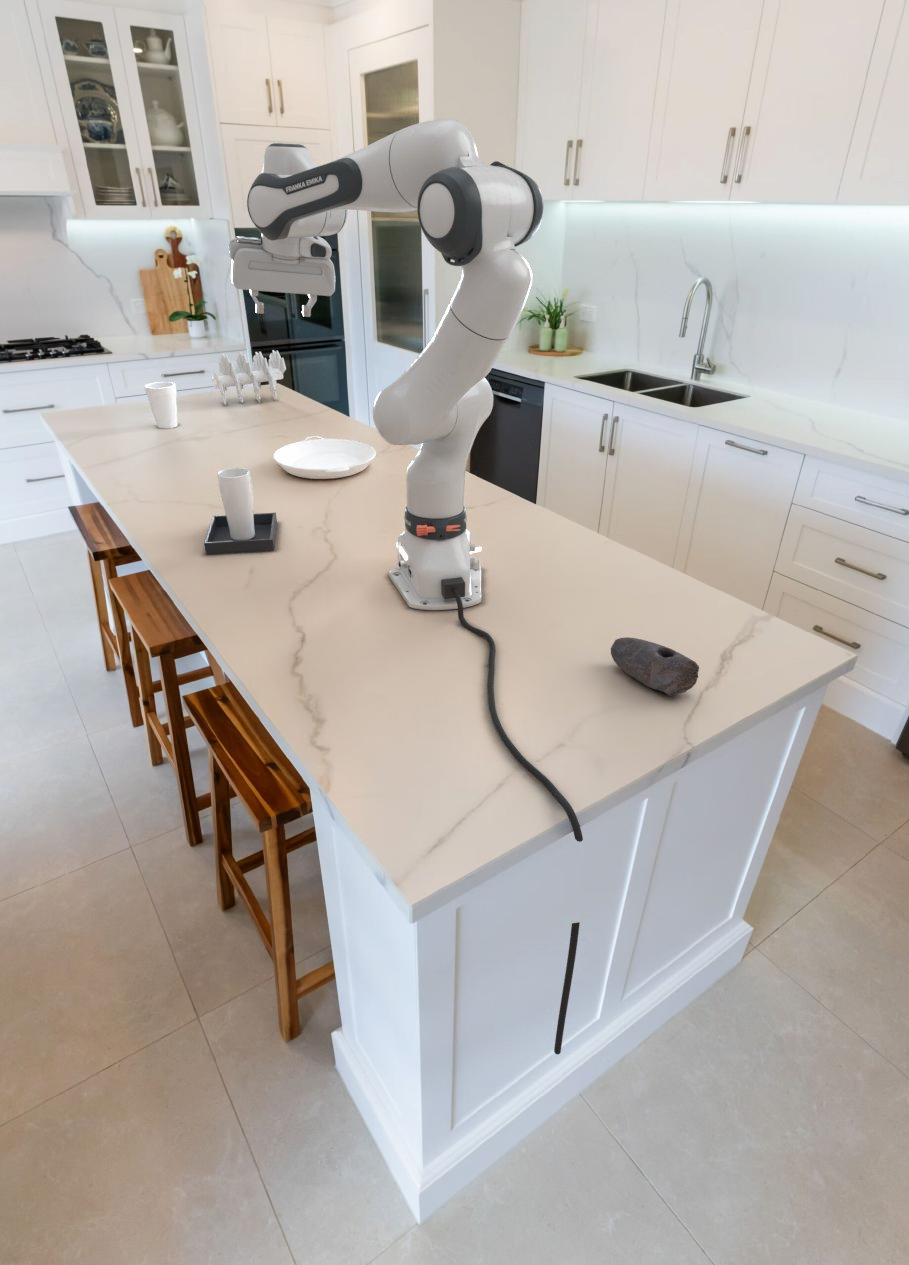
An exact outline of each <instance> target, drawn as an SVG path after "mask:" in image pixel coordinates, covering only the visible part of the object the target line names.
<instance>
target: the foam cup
mask: <svg viewBox="0 0 909 1265" xmlns="http://www.w3.org/2000/svg"><path fill="white" fill-rule="evenodd" d="M144 391H145V395H146V396H147V399H148V402H149V406H150V408H151V411H152V414H153V417H154V419H155V420H154V421H155V423H156V426H157V428H159V429H173V428H176V427H178V405H177V404H178V402H177V385H176V383H175V382H171V381H157V382H150V383H146V384H145V385H144Z"/></svg>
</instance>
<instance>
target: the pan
mask: <svg viewBox="0 0 909 1265" xmlns="http://www.w3.org/2000/svg"><path fill="white" fill-rule="evenodd" d="M376 456H377V452H376V449H375V448H374V447H372V445H369V444H368V443H365V442H361V441H358V440H353V439H345V438H344V439H343V438H323V437H322V436H318V435H312V436H311V435H310V436H307V437H305V438H304V439H303V440H301V441H297V442H293V443H289V444H286V445H284V446H281V447H280V448H278V449H276V451H275V452H274V453H273V455H272V457H273V460H274V462H275V463H276V464H277V465H279V466H280V467H281V468H282V469H283V470H284V471H285V472H286V473H288V474H289V475H292V476H295V477H299V478H302V479H309V480H333V479H341V478H347V477H350V476H353V475H356V474H358V473H361V472H363V471H364V470H366V468H367V467H368V466H369V465H370V464H371V462H372V461H373V460H374V459H375V457H376Z"/></svg>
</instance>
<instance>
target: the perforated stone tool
mask: <svg viewBox="0 0 909 1265" xmlns="http://www.w3.org/2000/svg"><path fill="white" fill-rule="evenodd" d="M610 655H611V657H612V660H613V662H614V663H615V664H616V666H618V668H619V669H620V670H621V671H622V672H623V673H625V674H626V675H628V676H630V677H633V678H634V680H636V681H638V682H639V683H641V684H643V685H644V686H646V687H648V688H649V689H652V690H655V691H660V692H662V693H665V694H666V695H667V696H670V697H672V696H675V695H678V694H684V693H686V692H687V691H689V690H691V689H692V688H693V687H694V686H695V685H696V684H697V682H698V678H699V671H700V665H698V663H697V662H696V661H695V660H693V659H691V658H689V657H687V656H686V655H683V653H680V652H678V651H676V650H674V649H673V648H670V647H667V646H665V645H662V644H659V643H656V642H652V641H649V640H645V639H642V638H637V637H628V636H627V637H619V638H616V639H615V640H614V642H613V643H612V645H611V647H610Z"/></svg>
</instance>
